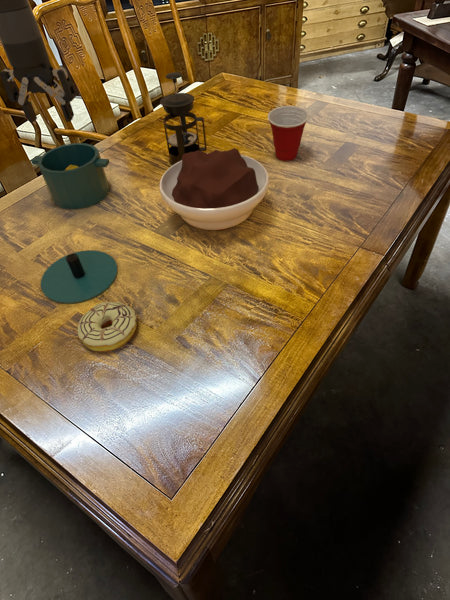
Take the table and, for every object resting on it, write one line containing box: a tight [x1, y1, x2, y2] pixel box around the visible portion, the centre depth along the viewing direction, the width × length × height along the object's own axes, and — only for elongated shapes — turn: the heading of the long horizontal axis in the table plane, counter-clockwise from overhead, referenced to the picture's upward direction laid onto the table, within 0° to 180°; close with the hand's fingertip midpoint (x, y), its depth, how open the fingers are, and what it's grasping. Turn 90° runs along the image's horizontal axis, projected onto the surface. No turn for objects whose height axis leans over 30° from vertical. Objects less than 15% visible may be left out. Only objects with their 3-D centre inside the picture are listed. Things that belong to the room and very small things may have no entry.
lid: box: [40, 249, 119, 305], centre depth 86 cm, size 16×16×6 cm
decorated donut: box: [77, 301, 138, 352], centre depth 76 cm, size 10×11×4 cm
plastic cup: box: [267, 105, 310, 162], centre depth 114 cm, size 11×11×12 cm
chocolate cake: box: [158, 147, 270, 231], centre depth 96 cm, size 25×25×15 cm
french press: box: [159, 71, 208, 166], centre depth 112 cm, size 12×9×23 cm
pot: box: [30, 142, 110, 210], centre depth 107 cm, size 15×20×10 cm
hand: (51, 120), depth 92 cm, fingers open, 8 cm apart
